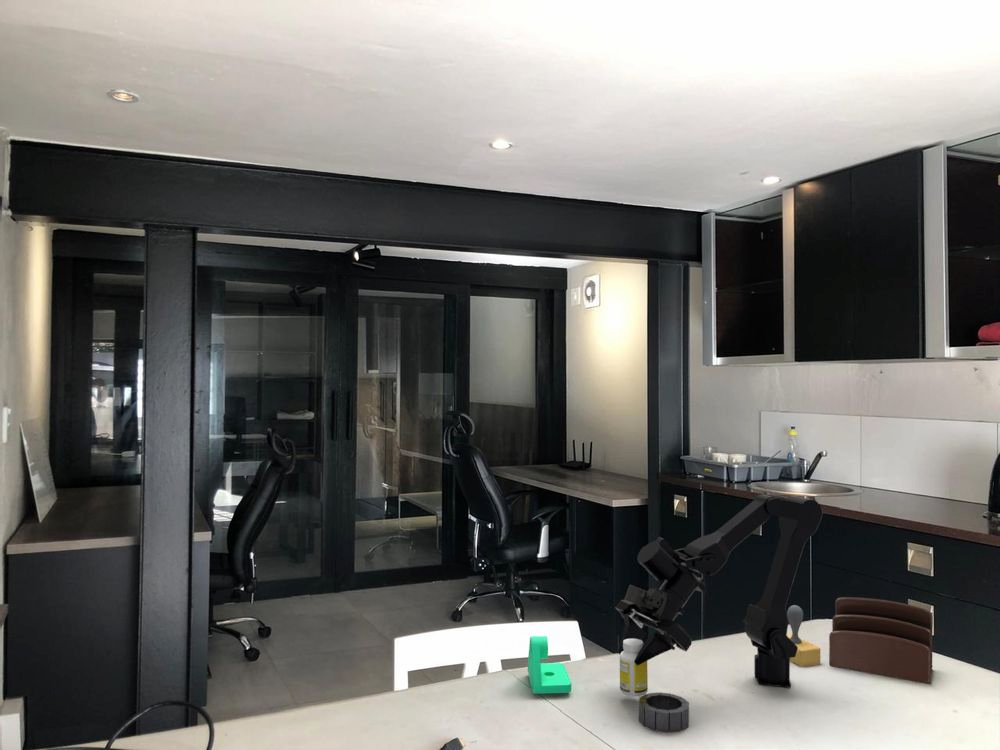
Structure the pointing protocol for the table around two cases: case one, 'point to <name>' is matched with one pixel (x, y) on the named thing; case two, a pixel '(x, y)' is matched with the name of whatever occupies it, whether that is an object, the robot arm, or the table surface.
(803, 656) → the rubber stamp
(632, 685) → the supplement bottle
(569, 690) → the camera mount
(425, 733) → the table surface
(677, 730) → the ring
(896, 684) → the table surface
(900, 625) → the letter holder
